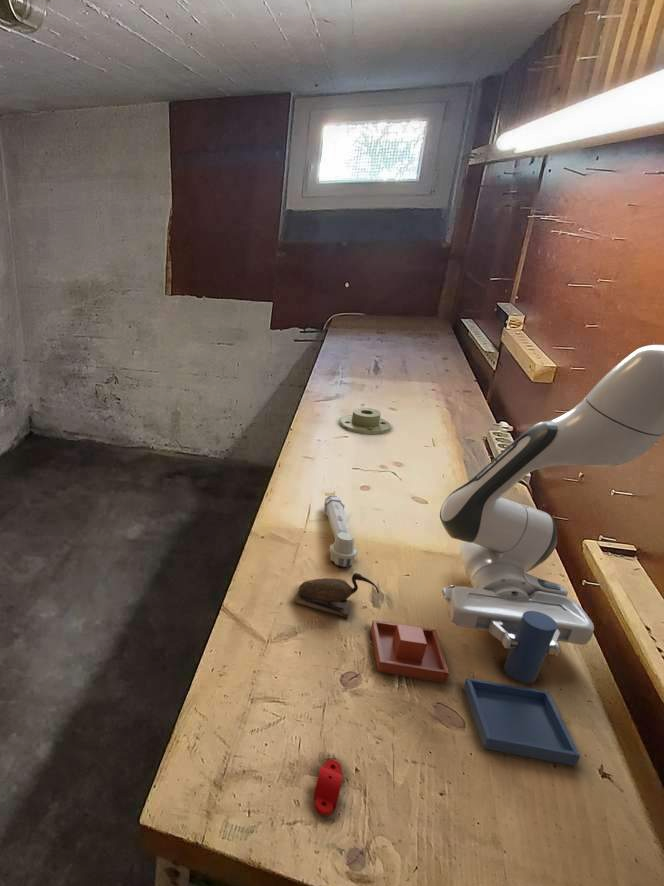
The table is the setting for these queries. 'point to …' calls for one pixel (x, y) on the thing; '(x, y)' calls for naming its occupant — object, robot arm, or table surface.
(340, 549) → the light grey long piece
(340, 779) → the pipe clamp
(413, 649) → the terracotta block
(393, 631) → the terracotta tray
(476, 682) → the blue tray
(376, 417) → the flange
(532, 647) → the blue canister
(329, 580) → the figurine
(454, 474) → the table surface
